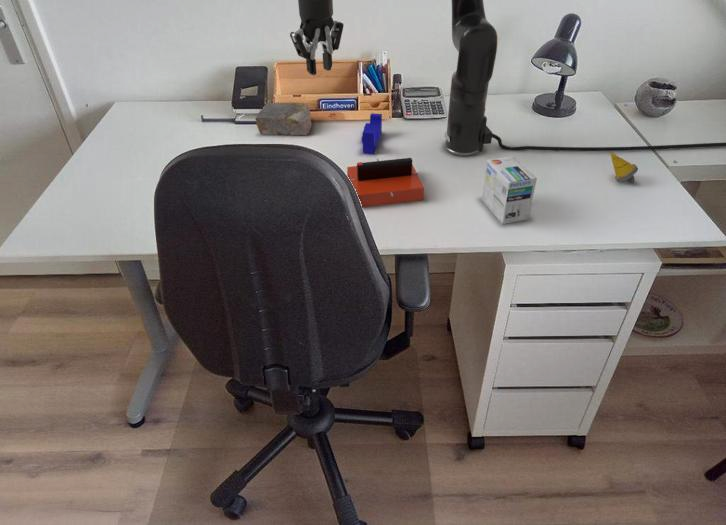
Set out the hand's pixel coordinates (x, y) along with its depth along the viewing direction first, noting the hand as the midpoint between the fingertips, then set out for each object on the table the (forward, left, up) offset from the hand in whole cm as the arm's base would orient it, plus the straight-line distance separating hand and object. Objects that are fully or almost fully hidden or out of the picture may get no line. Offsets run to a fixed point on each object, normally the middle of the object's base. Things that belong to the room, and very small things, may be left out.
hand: (320, 71), depth 129 cm
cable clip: (-13, -6, -23) cm, 27 cm away
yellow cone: (-69, +26, -23) cm, 77 cm away
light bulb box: (-37, +32, -23) cm, 54 cm away
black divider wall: (-12, +18, -20) cm, 29 cm away
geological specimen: (+9, -21, -23) cm, 33 cm away
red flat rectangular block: (-12, +18, -23) cm, 32 cm away
